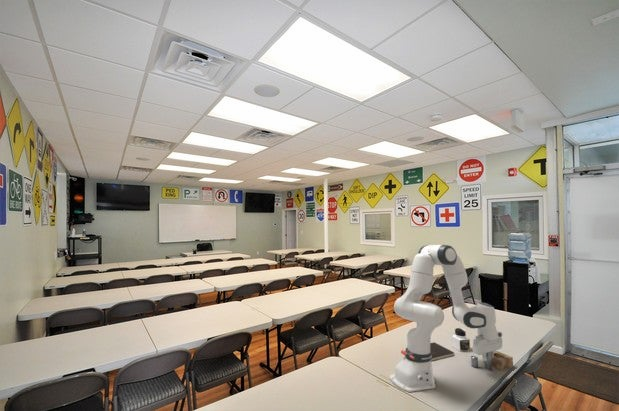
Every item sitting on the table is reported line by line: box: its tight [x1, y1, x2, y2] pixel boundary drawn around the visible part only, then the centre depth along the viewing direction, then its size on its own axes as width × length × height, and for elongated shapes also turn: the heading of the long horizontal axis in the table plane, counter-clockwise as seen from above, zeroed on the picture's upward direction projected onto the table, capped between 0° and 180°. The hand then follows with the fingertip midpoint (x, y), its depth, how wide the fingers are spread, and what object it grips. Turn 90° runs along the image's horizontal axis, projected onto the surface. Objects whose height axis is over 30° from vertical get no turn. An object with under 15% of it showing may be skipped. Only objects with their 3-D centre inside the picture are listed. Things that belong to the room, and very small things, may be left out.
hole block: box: [482, 350, 514, 372], centre depth 154 cm, size 10×10×5 cm
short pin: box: [470, 355, 479, 369], centre depth 151 cm, size 3×3×5 cm
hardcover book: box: [405, 342, 455, 362], centre depth 167 cm, size 16×23×2 cm
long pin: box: [484, 352, 493, 372], centre depth 149 cm, size 3×3×10 cm
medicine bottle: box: [451, 327, 471, 352], centre depth 173 cm, size 7×7×12 cm
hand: (488, 359), depth 149 cm, fingers closed on long pin, 3 cm apart
